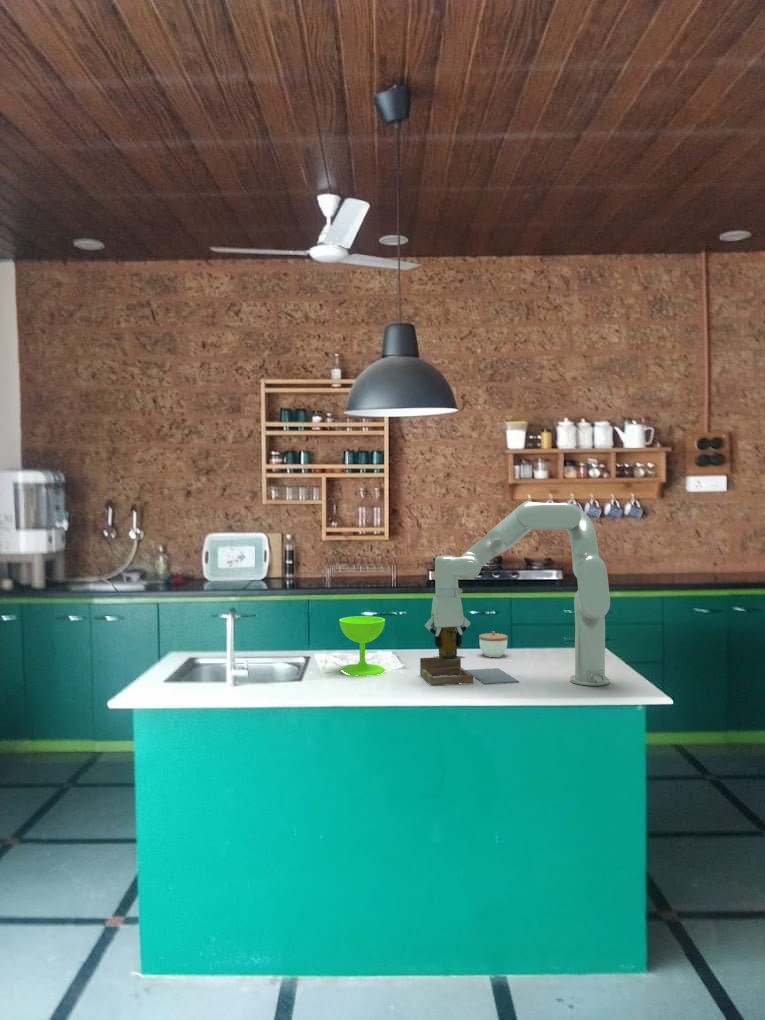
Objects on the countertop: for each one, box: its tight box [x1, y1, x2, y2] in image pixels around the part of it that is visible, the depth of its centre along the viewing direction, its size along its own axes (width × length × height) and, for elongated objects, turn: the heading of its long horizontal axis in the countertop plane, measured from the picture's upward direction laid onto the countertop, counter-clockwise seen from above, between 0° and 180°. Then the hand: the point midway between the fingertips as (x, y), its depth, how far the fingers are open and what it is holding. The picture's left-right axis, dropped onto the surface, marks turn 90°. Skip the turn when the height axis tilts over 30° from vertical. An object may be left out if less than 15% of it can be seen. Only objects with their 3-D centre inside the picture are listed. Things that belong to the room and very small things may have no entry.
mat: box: [465, 667, 520, 685], centre depth 286 cm, size 20×12×1 cm, turn 12°
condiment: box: [434, 627, 466, 660], centre depth 281 cm, size 7×8×12 cm
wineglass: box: [338, 615, 386, 677], centre depth 295 cm, size 16×16×18 cm
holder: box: [419, 656, 474, 686], centre depth 282 cm, size 15×14×6 cm
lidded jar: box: [478, 630, 509, 658], centre depth 320 cm, size 11×11×9 cm
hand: (448, 646), depth 281 cm, fingers closed on condiment, 6 cm apart
